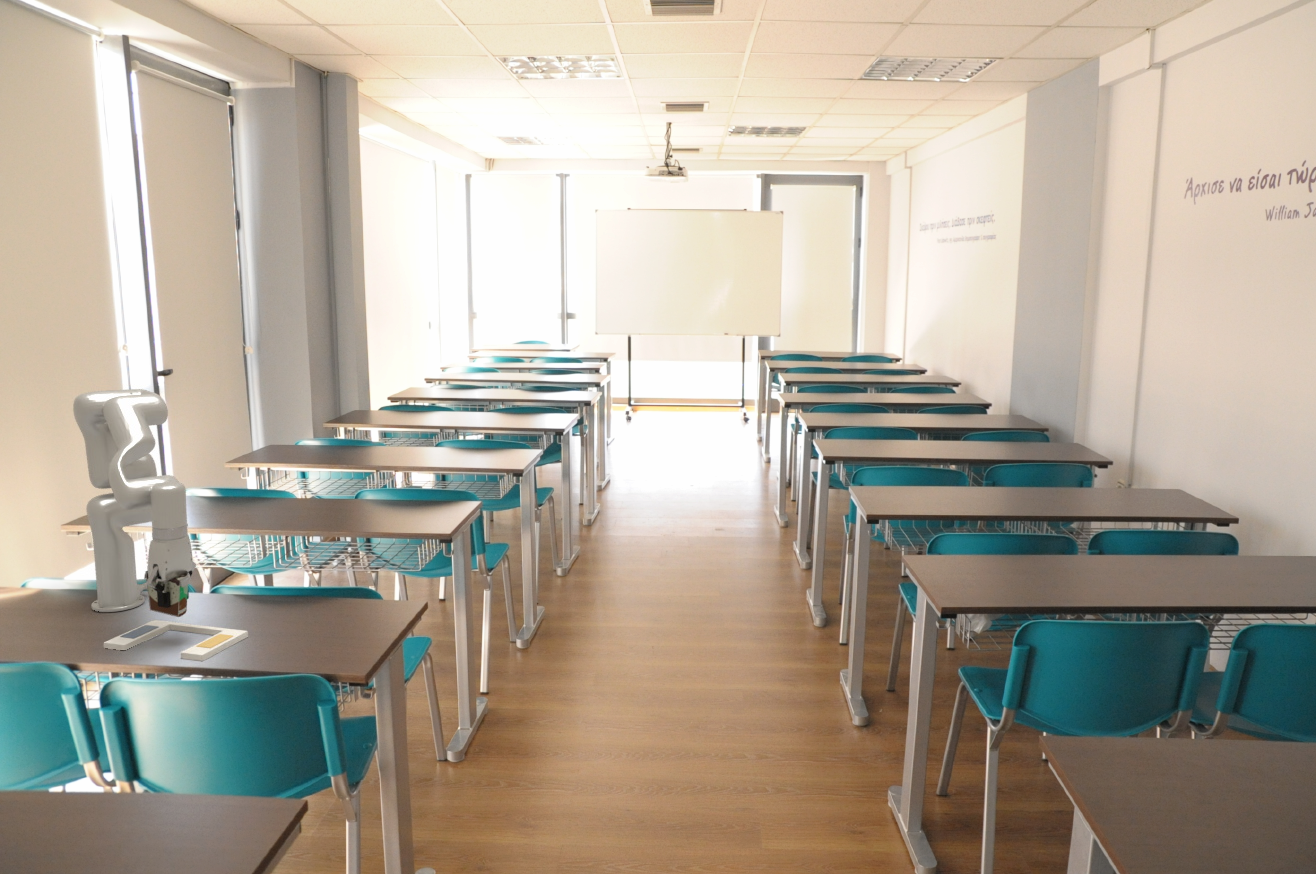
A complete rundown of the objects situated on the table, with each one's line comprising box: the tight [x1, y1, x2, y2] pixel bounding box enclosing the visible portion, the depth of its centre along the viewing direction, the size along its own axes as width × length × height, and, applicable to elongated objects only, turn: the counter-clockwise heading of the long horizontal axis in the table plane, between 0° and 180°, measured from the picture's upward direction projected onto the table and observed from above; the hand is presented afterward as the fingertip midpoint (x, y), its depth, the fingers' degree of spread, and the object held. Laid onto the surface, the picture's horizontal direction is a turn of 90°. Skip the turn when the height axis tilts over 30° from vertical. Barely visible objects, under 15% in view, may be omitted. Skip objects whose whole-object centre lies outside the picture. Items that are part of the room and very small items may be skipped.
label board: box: [103, 619, 249, 662], centre depth 219 cm, size 16×28×2 cm, turn 77°
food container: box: [143, 570, 192, 618], centre depth 218 cm, size 12×6×10 cm, turn 70°
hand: (173, 601), depth 218 cm, fingers closed on food container, 5 cm apart
